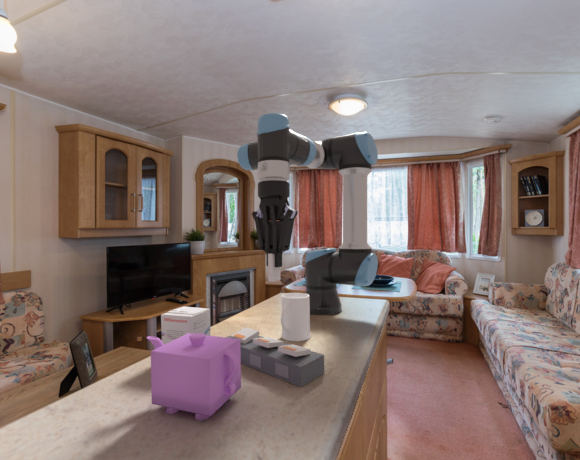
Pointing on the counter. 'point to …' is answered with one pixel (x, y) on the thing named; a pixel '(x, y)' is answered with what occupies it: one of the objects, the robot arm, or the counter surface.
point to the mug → (295, 317)
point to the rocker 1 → (245, 335)
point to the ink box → (184, 322)
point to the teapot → (195, 373)
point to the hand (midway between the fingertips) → (274, 280)
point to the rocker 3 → (294, 350)
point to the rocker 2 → (267, 342)
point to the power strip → (282, 363)
